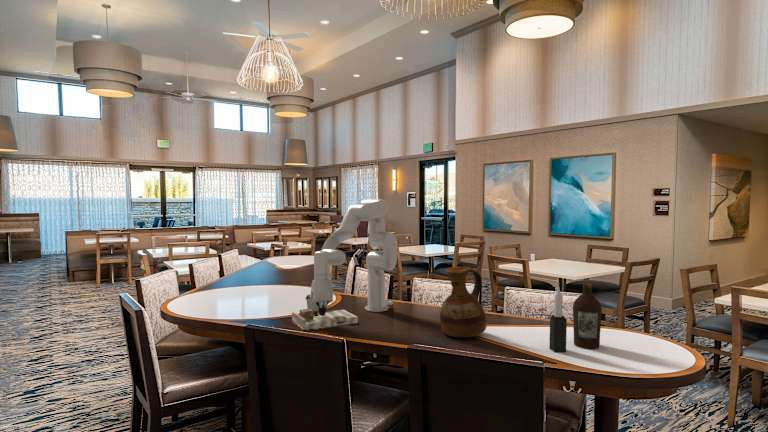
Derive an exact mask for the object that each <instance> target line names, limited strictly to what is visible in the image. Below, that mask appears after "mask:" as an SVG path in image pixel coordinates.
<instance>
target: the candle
mask: <svg viewBox="0 0 768 432" xmlns="http://www.w3.org/2000/svg"><path fill="white" fill-rule="evenodd" d="M563 298H564V297H563V294H562V292H561V290H560V286H558V287H557V290H556V292H555V294H554V298H553V299H554V300H553V301H554V304H553V305H554V311H553V313H554V314H552V315H551V316H549V350H551V351H553V352H554V353H566V352H567V329H568V328H567V326H568V325H567V321H568V320H567V318H566V317H565V316H564V315H563V305H564V304H563V300H564V299H563Z"/></svg>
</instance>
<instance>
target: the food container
mask: <svg viewBox="0 0 768 432" xmlns="http://www.w3.org/2000/svg"><path fill="white" fill-rule="evenodd" d="M304 300H306V306H307V307H306V309H311V310H313V316H315V315H318V313H319V307H318V306H317V305H315V304H311V301H312V300H311V293H310V294H307V295H306V297H305V299H304ZM321 302H322V303H323V301H321ZM327 310H328V306H327V307H326V312H328V311H327Z"/></svg>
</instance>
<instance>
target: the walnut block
mask: <svg viewBox="0 0 768 432" xmlns="http://www.w3.org/2000/svg"><path fill="white" fill-rule="evenodd" d="M299 315H300V316H301V317H303V318H304V319H305V320H312V319H313V316H314V315H313V310H311V309H307V308H304V309H299Z"/></svg>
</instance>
